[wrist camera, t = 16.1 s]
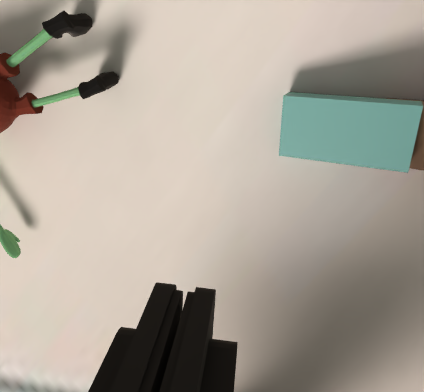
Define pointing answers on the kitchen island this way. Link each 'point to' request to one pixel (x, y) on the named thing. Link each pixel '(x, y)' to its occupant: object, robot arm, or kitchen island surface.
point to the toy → (29, 104)
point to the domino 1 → (350, 130)
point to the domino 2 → (418, 143)
